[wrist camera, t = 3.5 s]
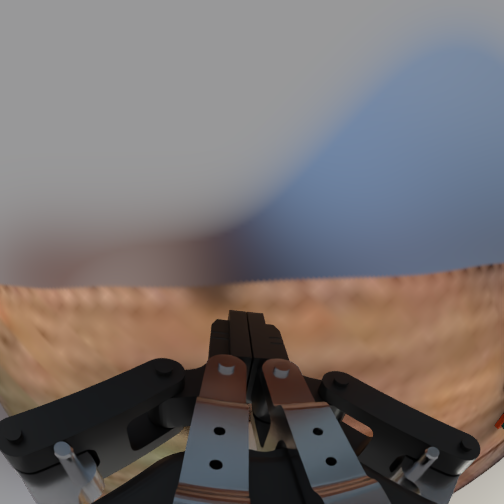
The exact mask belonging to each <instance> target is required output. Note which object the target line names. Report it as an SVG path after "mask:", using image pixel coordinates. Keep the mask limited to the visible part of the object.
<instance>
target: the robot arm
mask: <svg viewBox="0 0 504 504" xmlns="http://www.w3.org/2000/svg"><path fill="white" fill-rule="evenodd" d="M247 403H251V404H252V411H251V415H250V420H251V425H252V429H253V434H254V438H255V443H256V447H257V451H256V450H251V449H249V405H248V404H247ZM345 414H347V415H349V416H351V417H353V418H354V419H356V420H358V421H359V422H361V423H363V424H365V425H366V426H368V427H370V428H371V429H372V431H373V437H368V436H366V435H364V434H362V433H361V432H359V431H357V430H356V429H354V428H352V427H351V426H349V425H347V424H346V423H344V422H342V420H343V418H344V416H345ZM185 426H191V427H190V431H189V436H188V441H187V445H186V450H185V451H184V452H179V453H175V454H172V455H169V456H167V457H164V458H162V459H161V460H159V461H157V462H156V463H154V464H153V465H151V466H150V467H148V468H147V469H145V470H144V471H143V472H141V473H140V474H138V475H137V476H135V477H134V478H132V479H131V480H129V481H128V482H126V483H124V484H123V485H121V486H120V487H118V488H117V489H115V490H113V491H112V492H110V493H108V494H107V495H105V496H103V497H102V498H100V499H98V500H97V501H95V502H94V500H96V499H97V498H98V497H99V496H101V494H102V493H103V491H104V488H105V483H104V478H106V477H108V476H110V475H111V474H113V473H115V472H117V471H119V470H120V469H122V468H124V467H126V466H127V465H129V464H131V463H132V462H134V461H136V460H137V459H139V458H141V457H142V456H144V455H146V454H147V453H149V452H150V451H152V450H154V449H155V448H157V447H158V446H160V445H161V444H163V443H165V442H166V441H168V440H169V439H171V438H172V437H174V436H175V435H177V434H178V433H179V432H181V430H182V429H183V427H185ZM0 451H1V452H2V453H3V455H4V456H5V458H6V459H7V460H8V462H9V464H10V465H11V467H12V468H13V469H14V470H15V471H16V473H17V474H18V475H19V476H20V477H21V478H22V480H23V482H24V483H25V485H26V487H27V489H28V490H29V492H30V494H31V495H32V497H33V499H34V500H35V502H36V503H37V504H448V503H449V501H450V498H451V496H452V493H453V491H454V488H455V486H456V483H457V480H458V477H459V476H460V475H461V474H462V473H463V472H464V471H465V470H466V469H467V468H468V467H469V466H470V465H471V463H472V462H473V461H474V460H475V459H476V458H477V457H478V456H479V454H480V445H479V443H478V441H477V440H476V439H475V438H474V437H473V436H471V435H469V434H467V433H465V432H462V431H460V430H458V429H456V428H454V427H451V426H449V425H447V424H445V423H443V422H440V421H438V420H436V419H434V418H432V417H430V416H428V415H426V414H424V413H422V412H419V411H417V410H415V409H413V408H411V407H409V406H407V405H405V404H403V403H401V402H399V401H397V400H396V399H394V398H392V397H390V396H388V395H386V394H384V393H382V392H380V391H378V390H376V389H375V388H373V387H371V386H369V385H367V384H365V383H363V382H362V381H360V380H358V379H356V378H354V377H352V376H351V375H349V374H346V373H344V372H339V371H332V372H328V373H326V374H325V375H324V376H323V378H322V380H318V379H314V378H309V377H306V376H303V375H302V373H301V371H300V369H299V367H298V366H297V365H295V364H294V363H293V362H290V361H289V358H288V355H287V352H286V349H285V346H284V343H283V340H282V337H281V334H280V331H279V330H278V329H277V328H276V327H275V326H274V325H269V324H265V320H264V316H263V313H253V312H243V311H234V310H229V316H228V320H220V319H217V320H216V321H215V322H214V323H213V324H212V327H211V336H210V345H209V355H208V361H207V363H206V364H205V365H204V366H202V367H200V368H197V369H192V370H184V368H183V366H182V365H181V364H180V363H178V362H176V361H174V360H171V359H166V358H158V359H153V360H151V361H148V362H146V363H144V364H142V365H140V366H137V367H135V368H133V369H131V370H128V371H126V372H124V373H122V374H119V375H117V376H115V377H112V378H110V379H108V380H105V381H103V382H101V383H98V384H96V385H93V386H91V387H88V388H86V389H84V390H81V391H79V392H76V393H74V394H71V395H68V396H66V397H63V398H61V399H58V400H55V401H53V402H50V403H48V404H45V405H42V406H39V407H37V408H34V409H31V410H28V411H25V412H22V413H20V414H17V415H14V416H11V417H8V418H5V419H3V420H1V421H0Z"/></svg>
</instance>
